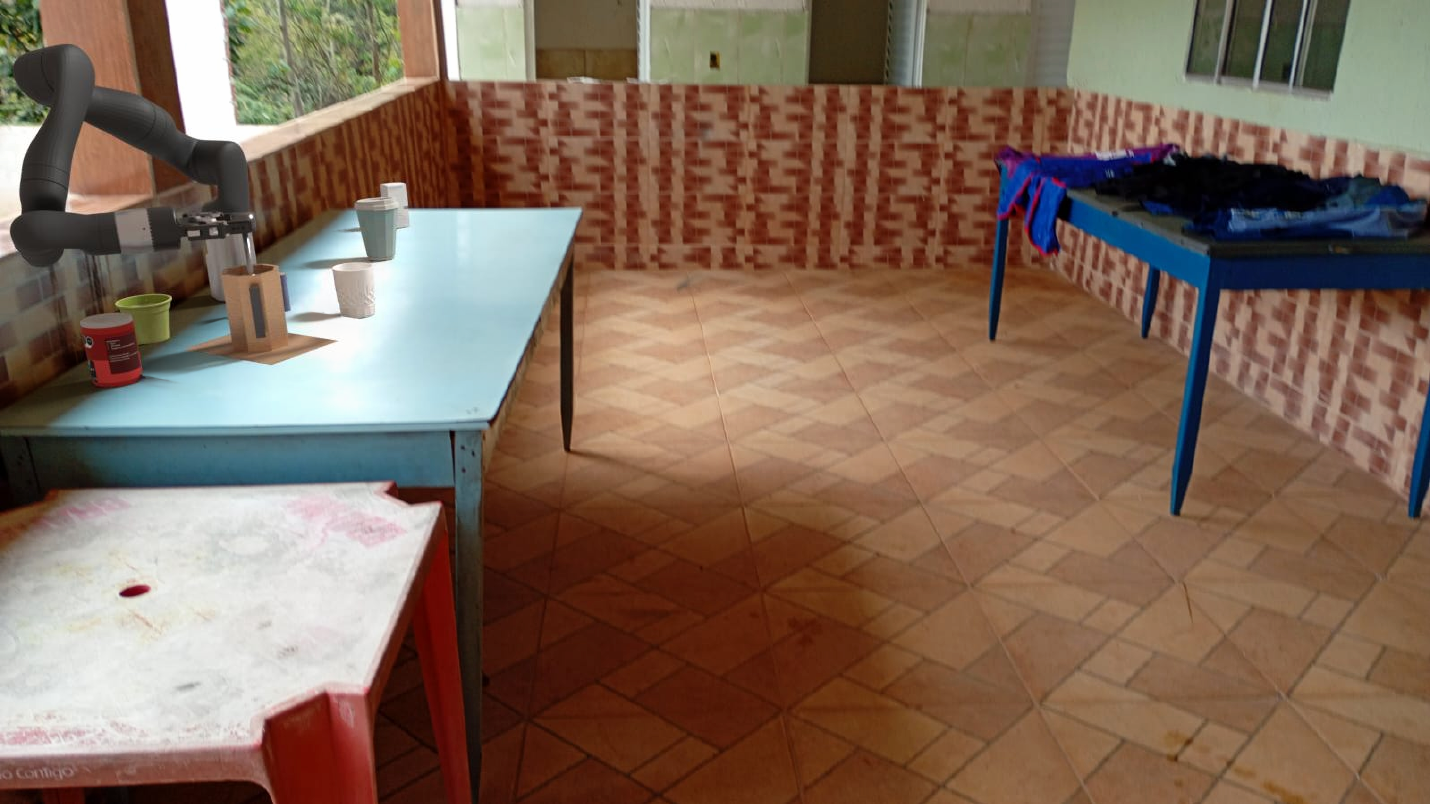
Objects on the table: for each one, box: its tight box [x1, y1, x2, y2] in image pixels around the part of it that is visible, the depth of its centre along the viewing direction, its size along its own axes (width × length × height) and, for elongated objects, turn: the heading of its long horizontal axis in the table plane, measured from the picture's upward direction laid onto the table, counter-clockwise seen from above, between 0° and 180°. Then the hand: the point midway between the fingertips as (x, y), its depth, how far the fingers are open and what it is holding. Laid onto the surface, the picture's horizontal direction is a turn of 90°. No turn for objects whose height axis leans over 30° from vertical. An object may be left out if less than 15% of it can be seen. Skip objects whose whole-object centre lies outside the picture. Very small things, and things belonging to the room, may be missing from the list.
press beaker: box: [221, 263, 289, 353], centre depth 205 cm, size 11×10×14 cm
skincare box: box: [379, 181, 411, 229], centre depth 318 cm, size 6×4×12 cm
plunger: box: [230, 211, 258, 275], centre depth 204 cm, size 6×6×23 cm
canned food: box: [79, 312, 144, 388], centre depth 191 cm, size 8×8×11 cm
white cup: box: [331, 261, 376, 319], centre depth 230 cm, size 8×8×10 cm
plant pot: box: [114, 293, 173, 346], centre depth 211 cm, size 9×9×9 cm
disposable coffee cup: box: [354, 196, 399, 262], centre depth 279 cm, size 11×11×15 cm
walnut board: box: [183, 332, 338, 366], centre depth 208 cm, size 22×16×1 cm
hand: (249, 221), depth 201 cm, fingers open, 8 cm apart
